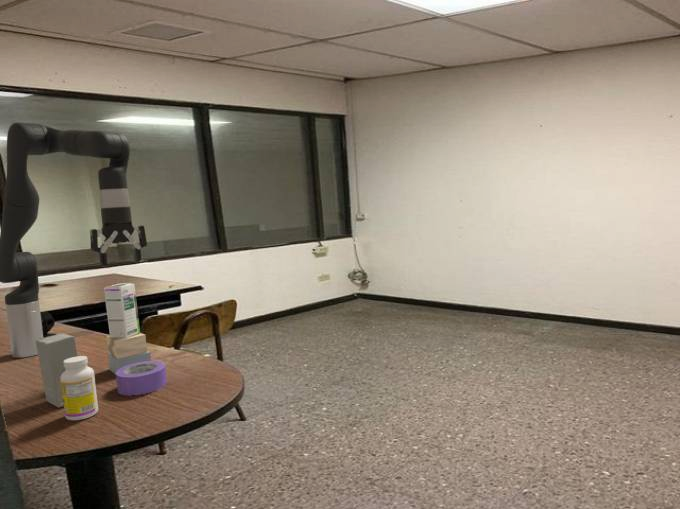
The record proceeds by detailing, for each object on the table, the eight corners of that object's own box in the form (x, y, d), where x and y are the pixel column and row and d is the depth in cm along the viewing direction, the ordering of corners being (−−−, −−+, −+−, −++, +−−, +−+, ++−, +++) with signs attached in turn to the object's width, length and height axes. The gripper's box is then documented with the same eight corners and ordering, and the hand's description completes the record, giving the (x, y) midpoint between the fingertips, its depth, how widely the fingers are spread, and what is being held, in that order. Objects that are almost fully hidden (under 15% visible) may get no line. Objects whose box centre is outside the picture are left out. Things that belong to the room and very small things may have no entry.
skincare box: (86, 400, 123) (79, 335, 121) (53, 410, 118) (45, 342, 116) (73, 392, 129) (66, 330, 127) (41, 401, 124) (34, 337, 122)
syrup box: (126, 338, 141) (121, 286, 139) (109, 338, 143) (103, 286, 141) (140, 332, 146) (135, 282, 145) (123, 332, 148) (117, 282, 146)
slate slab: (109, 370, 146) (107, 353, 146) (141, 362, 152) (140, 346, 151) (118, 377, 139) (116, 359, 139) (151, 369, 145) (150, 352, 144)
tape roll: (147, 397, 123) (145, 377, 122) (107, 394, 126) (104, 375, 126) (176, 380, 134) (174, 361, 134) (139, 378, 138) (137, 360, 137)
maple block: (108, 353, 145) (106, 336, 145) (136, 347, 150) (134, 330, 150) (117, 359, 139) (116, 341, 139) (147, 352, 144) (145, 334, 144)
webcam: (45, 342, 182) (42, 314, 181) (28, 342, 184) (25, 314, 183) (62, 336, 190) (59, 309, 189) (45, 336, 192) (42, 310, 190)
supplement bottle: (73, 410, 117) (66, 355, 116) (103, 407, 118) (97, 353, 116) (59, 423, 110) (52, 365, 109) (91, 420, 111) (84, 362, 110)
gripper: (137, 205, 148) (142, 260, 150) (83, 207, 139) (90, 267, 141) (146, 204, 143) (151, 262, 144) (91, 207, 134) (97, 269, 135)
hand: (121, 264), depth 143 cm, fingers open, 8 cm apart
